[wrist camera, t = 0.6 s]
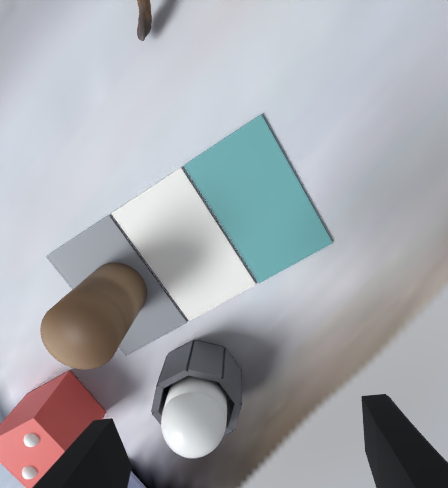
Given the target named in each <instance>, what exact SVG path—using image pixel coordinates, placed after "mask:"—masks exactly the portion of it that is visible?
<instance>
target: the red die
mask: <svg viewBox="0 0 448 488" xmlns="http://www.w3.org/2000/svg"><path fill="white" fill-rule="evenodd" d="M105 413H106V411H105V410H104V409H103V408H102V407H101V405H100V404H99V403H98V402H97V401H96V400H95V399H94V397H93V396H92V395H91V394H90V393H89V392H88V391H87V389H86V388H85V387H84V386H83V385H82V384H81V382H80V381H79V380H78V379H77V378H76V377H75V376H74V374H73V373H72V372H71V371H70V370H69V371H67V372H65V373H64V374H62V375H60V376H58V377H56V378H55V379H53V380H51V381H49V382H47V383H46V384H44V385H42V386H40V387H39V388H37V389H35V390H33V391H31V392H30V393H28V394H26V395H25V396H24V398H23V399H22V400H21V401H20V402H19V403H18V405H17V406H16V407H15V408H14V409H13V410H12V412H11V413H10V414H9V415H8V416H7V417H6V419H5V420H4V421H3V422H2V423H1V424H0V463H1V464H2V465H3V466H4V467H5V468H6V469H7V470H8V471H9V472H10V473H11V474H12V475H14V476H15V477H16V478H17V479H18V480H19V481H20V482H21V483H22V484H23V485H24V486H25V487H26V488H32V487H33V486H34V485H35V484H36V483H37V482H38V481H39V480H40V479H41V477H42V476H43V475H44V474H45V473H46V472H47V471H48V470H49V469H50V468H51V466H52V465H53V464H54V463H55V462H56V461H57V460H58V459H59V458H60V456H61V455H62V454H63V453H64V452H65V451H66V450H67V449H68V448H69V446H70V445H71V444H72V443H73V442H74V441H75V440H76V439H77V438H78V436H79V435H80V434H81V433H82V432H83V431H84V430H85V429H86V428H87V427H88V426H89V425H90V423H91V422H92V421H93V420H102V419H103V417H104V415H105Z"/></svg>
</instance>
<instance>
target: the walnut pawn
mask: <svg viewBox="0 0 448 488" xmlns="http://www.w3.org/2000/svg"><path fill="white" fill-rule="evenodd" d="M146 298H147V287H146V284H145V282H144V279H143V278H142V276H141V275H140V274H139V273H138V272H137V271H136V270H135V269H133V268H132V267H130V266H128V265H125V264H122V263H108V264H104V265H102V266H100V267H99V268H97V269H96V270H95V271H94V272H93V273H91V274H90V275H89V276H88V277H87V278H86V279H84V280H83V281H82V282H81V283H80V284H79V285H77V286H76V287H75V288H74V289H73V290H72V291H71V292H69V293H68V294H67V295H66V296H65V297H64V298H62V299H61V300H60V301H59V302H58V303H57V304H55V305H54V306H53V307H52V308H51V309H50V310H49V311H48V312H47V313H46V314H45V316H44V318H43V320H42V323H41V338H42V341H43V343H44V346H45V347H46V349H47V350H48V352H49V353H50V354H51V355H52V356H53V357H54V358H55V359H56V360H58V361H59V362H61V363H63V364H64V365H67V366H69V367H72V368H76V369H84V370H86V369H94V368H98V367H100V366H102V365H104V364H106V363H107V362H108V361H109V360H110V359H111V358H112V357H113V355H114V354H115V352H116V350H117V349H118V347H119V345H120V344H121V342H122V340H123V339H124V337H125V335H126V334H127V332H128V330H129V329H130V327H131V325H132V324H133V322H134V320H135V319H136V317H137V315H138V314H139V312H140V310H141V309H142V307H143V305H144V304H145V301H146Z"/></svg>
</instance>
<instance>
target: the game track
mask: <svg viewBox="0 0 448 488" xmlns="http://www.w3.org/2000/svg"><path fill="white" fill-rule="evenodd" d="M184 167H185V168H186V170H187V171H188V173H189V175H190V176H191V178H192V179H193V181H194V182H195V184H196V185H197V187H198V189H199V190H200V192H201V193H202V195H203V196H204V198H205V200H206V201H207V203H208V204H209V206H210V207H211V209H212V210H213V212H214V214H215V215H216V217H217V218H218V220H219V221H220V223H221V225H222V226H223V228H224V229H225V231H226V232H227V234H228V235H229V237H230V239H231V240H232V242H233V243H234V245H235V246H236V248H237V250H238V251H239V253H240V254H241V256H242V257H243V259H244V260H245V262H246V264H247V265H248V267H249V268H250V270H251V271H252V273H253V275H254V276H255V278H256V279H257V281H258V282H259V283H260V282H262V281H264V280H266V279H268V278H269V277H271V276H273V275H275V274H277V273H279V272H280V271H282V270H284V269H286V268H288V267H290V266H291V265H293V264H295V263H297V262H299V261H301V260H302V259H304V258H306V257H308V256H310V255H312V254H313V253H315V252H317V251H319V250H321V249H323V248H324V247H326V246H328V245H330V244H332V243H333V242H332V241H331V239H330V237H329V235H328V233H327V232H326V230H325V228H324V226H323V224H322V223H321V221H320V219H319V217H318V215H317V214H316V212H315V210H314V208H313V206H312V205H311V203H310V201H309V199H308V197H307V196H306V194H305V192H304V190H303V188H302V187H301V185H300V183H299V181H298V179H297V178H296V176H295V174H294V172H293V170H292V169H291V167H290V165H289V163H288V161H287V160H286V158H285V156H284V154H283V152H282V151H281V149H280V147H279V145H278V143H277V142H276V140H275V138H274V136H273V134H272V133H271V131H270V129H269V127H268V125H267V124H266V122H265V120H264V118H263V116H262V115H260V116H258V117H257V118H255V119H254V120H252V121H250V122H249V123H247V124H246V125H244V126H243V127H241V128H240V129H238V130H237V131H235V132H234V133H232V134H231V135H229V136H228V137H226V138H225V139H223V140H222V141H220V142H219V143H217V144H216V145H214V146H213V147H211V148H210V149H208V150H207V151H205V152H204V153H202V154H201V155H199V156H197V157H196V158H194V159H193V160H191V161H190V162H188V163H187V164H185V165H184ZM111 214H112V215H113V217H114V218H115V219H116V221H117V222H118V223H119V225H120V226H121V228H122V229H123V230H124V232H125V233H126V234H127V236H128V237H129V239H130V240H131V241H132V243H133V244H134V245H135V247H136V248H137V250H138V251H139V252H140V254H141V255H142V257H143V258H144V259H145V261H146V262H147V263H148V265H149V266H150V268H151V269H152V270H153V272H154V273H155V274H156V276H157V277H158V279H159V280H160V281H161V283H162V284H163V285H164V287H165V288H166V290H167V291H168V292H169V294H170V295H171V297H172V298H173V299H174V301H175V302H176V303H177V305H178V306H179V308H180V309H181V310H182V312H183V313H184V314H185V316H186V317H187V319H188V320H189V321H191V320H193V319H194V318H196V317H198V316H200V315H202V314H204V313H205V312H207V311H209V310H211V309H213V308H215V307H216V306H218V305H220V304H222V303H224V302H225V301H227V300H229V299H231V298H233V297H235V296H236V295H238V294H240V293H242V292H244V291H246V290H247V289H249V288H251V287H253V286H255V285H256V283H255V282H254V280H253V279H252V277H251V275H250V274H249V272H248V271H247V269H246V268H245V266H244V265H243V263H242V261H241V260H240V258H239V257H238V255H237V254H236V252H235V251H234V249H233V247H232V246H231V244H230V243H229V241H228V240H227V238H226V237H225V235H224V233H223V232H222V230H221V229H220V227H219V226H218V224H217V223H216V221H215V219H214V218H213V216H212V215H211V213H210V212H209V210H208V209H207V207H206V205H205V204H204V202H203V201H202V199H201V198H200V196H199V195H198V193H197V191H196V190H195V188H194V187H193V185H192V184H191V182H190V181H189V179H188V178H187V176H186V174H185V173H184V171H183V170H182V168H179V169H178V170H176V171H175V172H173V173H172V174H170V175H169V176H167V177H166V178H164V179H163V180H161V181H160V182H158V183H157V184H155V185H154V186H152V187H151V188H149V189H148V190H146V191H144V192H143V193H141V194H140V195H138V196H137V197H135V198H134V199H132V200H131V201H129V202H128V203H126V204H125V205H123V206H122V207H120V208H119V209H117V210H116V211H114V212H113V213H111ZM46 257H47V259H48V260H49V261H50V262H51V263H52V265H53V266H54V267H55V268H56V270H57V271H58V272H59V273H60V275H61V276H62V277H63V278H64V280H65V281H66V282H67V283H68V285H69V286H70V287H71V288H72V289H74V288H75V287H76V286H77V285H79V284H80V283H81V282H82V281H83V280H84V279H86V278H87V277H88V276H89V275H90V274H91V273H93V272H94V271H95V270H96V269H97V268H99V267H100V266H102V265H104V264H108V263H122V264H125V265H128V266H130V267H132V268H133V269H135V270H136V271H137V272H138V273H139V274H140V275H141V276H142V278H143V279H144V282H145V284H146V287H147V298H146V301H145V304H144V305H143V307H142V309H141V310H140V312H139V314H138V315H137V317H136V319H135V320H134V322H133V324H132V325H131V327H130V329H129V330H128V332H127V334H126V335H125V337H124V339H123V340H122V342H121V344H120V345H119V348H120V349H121V350H122V351H123V353H124V354H125V355H126V356H127V355H128V354H130V353H132V352H134V351H136V350H138V349H139V348H141V347H143V346H145V345H147V344H149V343H150V342H152V341H154V340H156V339H158V338H160V337H161V336H163V335H165V334H167V333H169V332H171V331H172V330H174V329H176V328H178V327H180V326H182V325H183V324H185V323H187V321H186V320H185V318H184V317H183V316H182V314H181V313H180V311H179V310H178V309H177V307H176V306H175V305H174V303H173V302H172V300H171V299H170V298H169V296H168V295H167V294H166V292H165V291H164V290H163V288H162V287H161V285H160V284H159V283H158V281H157V280H156V279H155V277H154V276H153V274H152V273H151V272H150V270H149V269H148V268H147V266H146V265H145V263H144V262H143V261H142V259H141V258H140V257H139V255H138V254H137V252H136V251H135V250H134V248H133V247H132V246H131V244H130V243H129V241H128V240H127V239H126V237H125V236H124V235H123V233H122V232H121V230H120V229H119V228H118V226H117V225H116V224H115V222H114V221H113V219H112V218H111V217H110V215H108V216H107V217H105V218H104V219H102V220H101V221H99V222H98V223H96V224H95V225H93V226H91V227H90V228H88V229H87V230H85V231H84V232H82V233H81V234H79V235H78V236H76V237H75V238H73V239H72V240H70V241H69V242H67V243H66V244H64V245H63V246H61V247H60V248H58V249H57V250H55V251H54V252H52V253H51V254H49V255H48V256H46Z"/></svg>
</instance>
